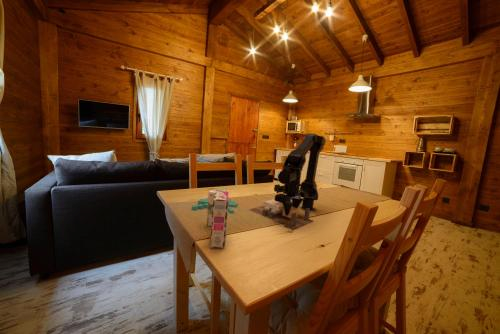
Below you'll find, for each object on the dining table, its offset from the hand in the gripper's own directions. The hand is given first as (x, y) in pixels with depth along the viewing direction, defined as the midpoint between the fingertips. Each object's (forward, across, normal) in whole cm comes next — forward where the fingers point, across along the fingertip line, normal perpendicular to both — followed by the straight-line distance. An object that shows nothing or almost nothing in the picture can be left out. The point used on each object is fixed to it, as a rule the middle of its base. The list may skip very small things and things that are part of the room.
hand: (290, 214), depth 101 cm
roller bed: (+3, 0, -6) cm, 7 cm away
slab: (-2, 0, -8) cm, 8 cm away
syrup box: (+3, +31, -14) cm, 34 cm away
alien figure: (+4, +16, -34) cm, 37 cm away
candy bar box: (+3, +38, -4) cm, 38 cm away
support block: (+1, 0, 0) cm, 1 cm away
